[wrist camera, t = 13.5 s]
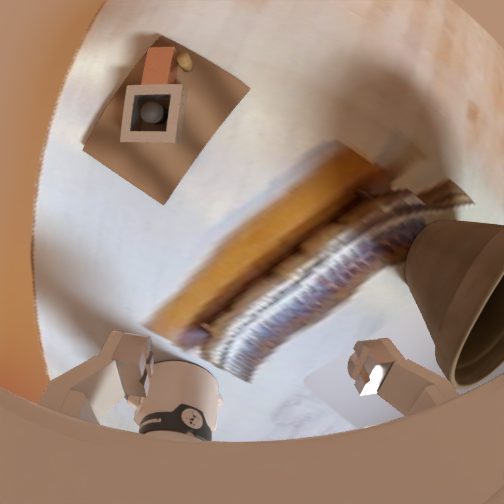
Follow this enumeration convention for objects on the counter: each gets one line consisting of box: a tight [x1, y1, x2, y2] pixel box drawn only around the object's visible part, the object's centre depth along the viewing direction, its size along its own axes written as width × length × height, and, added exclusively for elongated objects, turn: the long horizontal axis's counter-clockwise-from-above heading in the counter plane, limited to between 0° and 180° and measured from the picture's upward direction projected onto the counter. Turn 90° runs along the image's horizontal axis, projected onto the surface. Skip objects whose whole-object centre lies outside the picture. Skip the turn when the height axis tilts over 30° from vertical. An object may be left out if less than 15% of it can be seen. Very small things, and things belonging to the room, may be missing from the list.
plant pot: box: [405, 220, 504, 389], centre depth 31 cm, size 25×25×22 cm
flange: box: [120, 47, 188, 143], centre depth 25 cm, size 11×6×4 cm, turn 173°
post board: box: [83, 35, 250, 205], centre depth 27 cm, size 18×14×6 cm
